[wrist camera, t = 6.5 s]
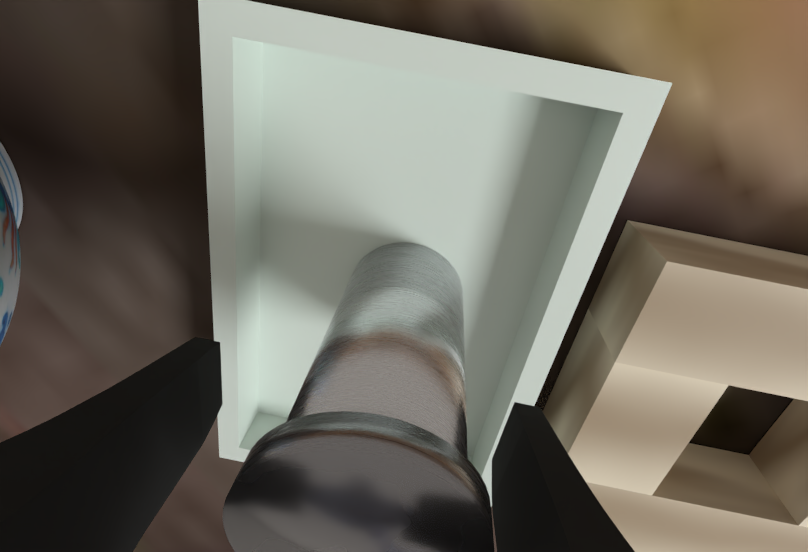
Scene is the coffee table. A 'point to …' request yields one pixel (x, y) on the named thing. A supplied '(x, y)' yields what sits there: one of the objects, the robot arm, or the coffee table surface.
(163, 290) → the coffee table surface
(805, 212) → the coffee table surface
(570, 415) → the pin block
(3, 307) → the chinaware
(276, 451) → the metal pin
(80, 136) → the coffee table surface
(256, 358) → the tray
